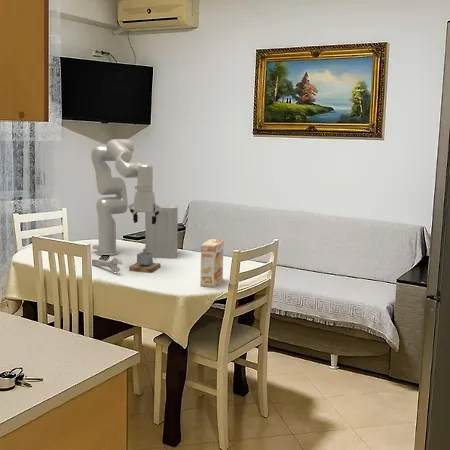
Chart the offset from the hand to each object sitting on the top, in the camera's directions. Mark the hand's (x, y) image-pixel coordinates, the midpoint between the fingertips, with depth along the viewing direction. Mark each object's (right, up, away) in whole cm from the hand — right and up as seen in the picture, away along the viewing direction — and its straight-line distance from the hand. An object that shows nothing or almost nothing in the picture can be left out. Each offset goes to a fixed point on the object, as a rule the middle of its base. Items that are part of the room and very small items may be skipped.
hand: (144, 223), depth 295 cm
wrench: (-20, -24, +2) cm, 31 cm away
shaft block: (0, -23, +4) cm, 24 cm away
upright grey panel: (+8, -18, +33) cm, 39 cm away
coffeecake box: (+34, -28, -18) cm, 48 cm away
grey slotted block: (0, -20, +3) cm, 21 cm away
